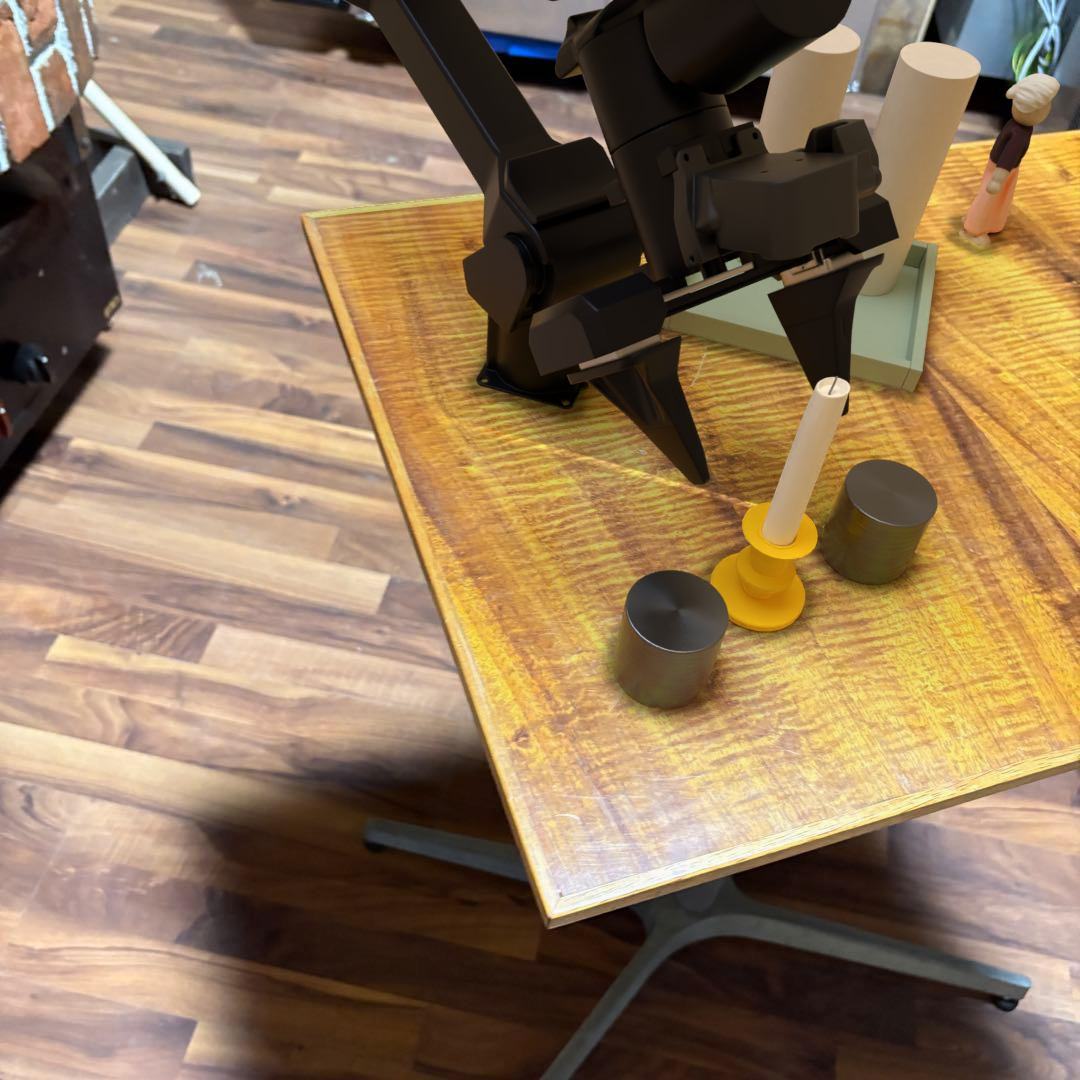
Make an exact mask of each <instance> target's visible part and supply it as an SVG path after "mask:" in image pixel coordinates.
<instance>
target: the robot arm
mask: <svg viewBox="0 0 1080 1080" xmlns="http://www.w3.org/2000/svg"><path fill="white" fill-rule="evenodd" d="M343 1H344V2H346V3H348V4H350V5H352V6H354V7H356V8H358V9H360V10H362V11H364V12H366V13H368V14H370V16H372V18H373V19H374V21H375V22H376V24H377V26H378V27H379V29H380V31H381V32H382V34H383V36H384V37H385V38H386V40H387V42H388V43H389V45H390V46H391V48H392V50H393V51H394V53H395V54H396V56H397V58H398V59H399V61H400V62H401V64H402V66H403V68H404V69H405V71H406V73H407V74H408V75H409V77H410V78H411V80H412V82H413V83H414V84H415V86H416V88H417V90H418V91H419V93H420V94H421V96H422V98H423V100H424V101H425V102H426V104H427V106H428V107H429V109H430V111H431V112H432V113H433V115H434V117H435V119H436V120H437V122H438V124H440V126H441V128H442V129H443V131H444V132H445V134H446V136H447V137H448V139H449V140H450V142H451V144H452V145H453V147H454V149H455V150H456V152H457V153H458V155H459V157H460V158H461V160H462V161H463V163H464V164H465V166H466V167H467V169H468V171H469V173H470V174H471V175H472V178H473V179H474V180H475V182H476V183H477V186H478V188H479V189H480V191H481V192H482V195H483V221H482V244H483V247H481V248H479V249H478V250H476V251H475V252H472V253H471V254H469V255H467V256H466V257H464V258H462V261H461V263H462V268H463V270H462V271H463V275H464V281H465V288H466V292H467V294H468V296H470V298H471V299H473V301H474V302H475V303H476V304H477V305H478V306H479V307H480V308H482V310H483V311H484V312H485V313H486V314H487V324H486V325H487V326H486V327H487V329H486V354H485V362H484V365H483V366H482V368H481V370H480V371H479V373H478V375H477V377H476V380H475V382H476V384H477V385H478V386H480V387H483V388H486V389H491V390H494V391H498V392H502V393H505V394H508V395H513V396H515V397H519V398H523V399H526V400H531V401H533V402H537V403H541V404H545V405H549V406H552V407H555V408H560V409H563V410H570V409H573V407H574V406H575V404H576V401H577V399H578V397H579V395H580V393H581V390H583V391H585V390H587V389H589V388H590V386H591V387H592V388H593V389H595V390H596V391H597V392H598V393H599V394H600V395H602V396H603V397H604V398H605V399H606V400H607V401H609V403H610V404H612V405H613V406H614V407H616V408H617V409H618V410H619V411H620V412H621V413H622V414H623V415H625V416H626V417H627V418H628V419H629V420H631V422H632V423H633V424H634V425H635V426H636V427H637V428H638V430H640V431H641V432H642V433H643V435H645V436H646V437H647V438H648V439H649V441H650V442H652V444H653V445H654V446H655V447H656V448H657V449H658V450H659V451H660V452H661V453H662V454H663V455H664V456H665V457H666V458H667V460H669V462H670V463H671V464H672V465H673V466H674V467H675V468H676V469H677V470H678V471H679V472H680V473H681V474H682V475H683V476H684V477H685V479H687V480H688V482H689V483H690V484H692V485H693V486H701V485H706V484H708V483H709V482H710V481H711V475H710V470H709V465H708V461H707V457H706V453H705V449H704V446H703V444H702V440H701V438H700V434H699V433H698V429H697V426H696V424H695V421H694V418H693V415H692V412H691V409H690V406H689V404H688V401H687V398H686V395H685V392H684V390H683V387H682V383H681V380H680V378H679V362H680V356H681V348H682V336H681V335H677V336H674V337H671V338H667V339H664V340H662V338H661V336H660V334H661V331H662V329H663V328H662V326H663V323H664V320H665V318H667V317H670V316H672V315H675V314H678V313H680V312H683V311H685V310H688V309H690V308H693V307H695V306H698V305H700V304H703V303H705V302H708V301H711V300H713V299H716V298H718V297H721V296H723V295H726V294H728V293H731V292H733V291H736V290H739V289H741V288H744V287H746V286H749V285H751V284H754V283H756V282H759V281H761V280H764V279H767V278H769V277H772V278H774V279H775V280H777V281H781V280H782V282H783V285H784V288H781V289H779V290H776V291H774V292H771V293H769V294H767V295H768V298H769V300H770V302H771V304H772V307H773V309H774V311H775V313H776V315H777V317H778V319H779V321H780V323H781V325H782V327H783V328H784V331H785V333H786V335H787V337H788V340H789V342H790V344H791V346H792V348H793V350H794V352H795V354H796V356H797V358H798V360H799V362H800V363H799V364H800V367H801V368H802V371H803V373H804V375H805V377H806V379H807V381H808V383H809V386H810V387H811V390H812V392H813V391H814V389H815V387H816V385H817V383H818V382H819V381H820V380H822V379H825V378H829V377H836V376H838V378H841V379H843V380H845V381H847V382H848V383H849V385H850V386H851V377H850V367H851V344H852V328H853V319H854V311H855V304H856V300H857V297H858V295H859V293H860V291H861V289H862V288H863V286H864V284H865V282H866V280H867V279H868V277H869V275H870V273H871V272H872V270H873V269H874V268H875V267H877V266H879V265H881V264H882V263H883V260H884V256H885V253H881V254H878V255H875V256H872V257H869V258H866V259H864V258H863V255H862V253H863V252H865V251H868V250H870V249H873V248H875V247H878V246H880V245H883V244H885V243H888V242H890V241H893V240H895V239H898V238H899V234H898V231H897V228H896V224H895V221H894V218H893V214H892V211H891V207H890V204H889V201H888V200H886V199H885V198H883V197H882V196H880V195H879V194H877V193H876V192H875V191H876V190H877V188H878V187H879V186H880V184H881V182H882V174H881V171H880V170H879V157H878V153H877V150H876V148H875V146H874V143H873V141H872V136H871V133H870V130H869V128H868V126H867V123H866V121H865V119H864V118H841V119H838V120H837V121H833V122H830V123H827V124H824V125H821V126H818V127H815V128H813V129H812V130H811V131H810V133H809V136H808V139H807V142H806V146H805V148H798V149H795V150H792V151H789V152H786V153H769V152H768V150H767V148H766V146H765V143H764V140H763V137H762V134H761V132H760V130H759V129H758V128H759V127H755V124H754V121H753V120H750V121H748V122H744V123H741V124H738V125H734V122H733V119H732V116H731V113H730V110H729V107H728V104H727V101H726V98H725V96H726V95H730V94H733V93H735V92H736V91H738V90H740V89H742V88H743V87H744V86H747V85H748V84H749V83H751V82H752V81H754V80H756V79H757V78H759V77H760V76H762V75H763V74H765V73H767V72H768V71H770V70H771V69H773V67H775V66H776V65H778V64H779V63H781V62H782V61H784V60H786V59H787V58H789V57H790V56H792V55H794V54H795V53H797V52H798V51H800V50H801V49H803V48H805V47H806V46H808V45H809V44H811V43H813V42H814V41H816V40H817V39H819V38H820V37H822V36H824V35H825V34H827V33H828V32H830V31H831V30H833V29H835V28H836V27H837V26H838V24H841V22H842V21H843V19H844V18H845V17H846V15H847V13H848V10H849V9H850V6H851V5H852V1H853V0H611V1H610V2H609V3H608V4H606V5H605V7H603V8H598V9H594V10H590V11H589V10H588V11H584V12H581V13H576V14H573V15H570V16H568V18H567V21H566V32H565V35H564V38H563V41H562V43H561V45H560V47H559V49H558V51H557V53H556V58H555V59H556V60H555V65H554V72H555V75H556V77H557V78H558V79H562V80H563V79H568V78H570V77H571V78H572V77H575V76H578V75H582V78H583V81H584V84H585V86H586V89H587V92H588V95H589V98H590V102H591V104H592V107H593V110H594V113H595V116H596V119H597V122H598V124H599V127H600V130H601V133H602V137H603V139H604V142H605V145H606V148H607V151H608V153H609V154H607V151H606V150H605V148H604V147H603V145H602V144H600V143H599V141H597V140H596V139H595V138H594V137H592V136H586V137H583V138H579V139H576V140H573V141H568V142H565V143H561V142H559V141H557V140H555V139H553V138H552V137H551V135H550V134H549V132H548V131H547V129H546V128H545V127H544V125H543V123H542V122H541V120H540V119H539V117H538V116H537V114H536V113H535V112H534V110H533V108H532V106H531V105H530V104H529V102H528V100H527V99H526V97H525V96H524V95H523V93H522V91H521V90H520V88H519V87H518V85H517V84H516V82H515V81H514V79H513V77H512V76H511V75H510V73H509V72H508V69H506V67H505V65H504V64H503V63H502V61H501V59H500V58H499V56H498V54H497V52H496V51H495V50H494V48H493V47H492V45H491V44H490V42H489V41H488V39H487V38H486V36H485V34H484V33H483V31H482V30H481V29H480V27H479V26H478V24H477V22H476V21H475V19H474V18H473V16H472V15H471V13H470V12H469V10H468V9H467V7H466V5H465V4H464V3H463V1H462V0H343ZM548 1H549V2H557V1H559V0H548ZM608 155H609V156H610V158H609V156H608ZM642 255H643V256H644V258H645V261H646V262H645V263H643V264H641V263H642ZM737 258H740V261H741V264H742V265H741V266H739V267H736V268H734V269H731V270H728V269H727V266H726V262H729V261H732V260H734V259H737ZM698 272H701V274H702V277H703V280H702V281H699V282H697V283H694V284H692V285H689V286H688V284H687V281H686V278H685V277H688V276H690V275H693V274H696V273H698ZM742 272H744V273H742ZM739 273H741V274H739ZM736 274H738V275H736ZM734 275H736V276H734ZM731 276H733V277H731ZM729 277H731V278H729ZM726 278H728V279H726ZM723 279H725V280H723ZM721 280H723V281H721ZM718 281H720V282H718ZM716 282H718V283H716ZM713 283H715V284H713ZM711 284H712V285H711ZM708 285H710V286H708ZM705 286H707V287H705ZM703 287H705V288H703ZM700 288H702V289H700ZM698 289H699V290H698ZM695 290H697V291H695ZM692 291H694V292H692ZM690 292H692V293H690ZM482 380H487V381H482ZM563 402H568V403H569V404H565V403H563ZM849 411H850V393H849V394H848V397H847V400H846V403H845V406H844V409H843V412H842V415H841V418H842V417H844V416H846V415H848V413H849Z"/></svg>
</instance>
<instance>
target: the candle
mask: <svg viewBox="0 0 1080 1080" xmlns="http://www.w3.org/2000/svg"><path fill="white" fill-rule="evenodd" d="M850 393H851V384H850V385H849V383H848V382H847V381H845V380H843V379H841V378H838V376H836V377H829V378H825V379H822V380H820V381H819V382H818V383H817V385H816V387H815V389H814V391H813V390H812V394H811V395H810V398H809V400H808V403H807V405H806V408H805V410H804V412H803V414H802V417H801V420H800V422H799V425H798V428H797V431H796V434H795V436H794V439H793V441H792V445H791V447H790V450H789V453H788V455H787V459H786V461H785V464H784V466H783V470H782V471H781V475H780V477H779V480H778V483H777V486H776V489H775V491H774V493H773V496H772V499H771V501H765V502H760V503H758V504H756V505H753V506H751V508H749V509H748V510H747V511H746V512H745V514H744V516H743V518H742V522H741V529H742V530H741V531H742V534H743V537H744V538H745V540H746V541H747V543H748V544H749V545H747V546H745V547H744V548H742V549H741V550H740V551H739V552H737V553H733V554H731V555H728V556H726V557H724V558H723V559H721V560H720V561H719V562H718V563H717V564H716V565H715V566H714V569H713V570H712V572H711V574H710V579H709V583H710V584H711V585H712V586H714V587H715V588H716V589H717V591H718V592H719V593H720V594H721V596H722V597H723V599H724V601H725V603H726V606H727V609H728V614H729V621H730V622H732V623H733V624H735V625H737V626H739V627H742V628H744V629H746V630H751V631H755V632H773V631H778V630H783V629H785V628H786V627H788V626H790V625H792V624H793V623H794V622H795V621H797V619H798V618H799V617H800V615H801V613H802V611H803V609H804V607H805V603H806V591H805V586H804V584H803V582H802V580H801V578H800V576H799V575H798V574H797V568H796V563H795V562H794V561H795V560H799V559H802V558H804V557H807V556H808V555H810V554H811V553H812V551H814V550H815V548H816V545H817V544H818V536H819V533H818V530H817V527H816V525H815V523H814V522H813V520H812V519H811V518H810V517H809V515H807V514H806V510H807V507H808V504H809V501H810V499H811V496H812V494H813V491H814V488H815V485H816V483H817V480H818V478H819V475H820V473H821V470H822V467H823V465H824V463H825V459H826V457H827V454H828V452H829V449H830V448H831V444H832V441H833V439H834V436H835V433H836V431H837V428H838V426H839V423H840V420H841V418H842V417H841V415H842V412H843V409H844V406H845V403H846V400H847V397H848V394H849V395H850Z"/></svg>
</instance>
